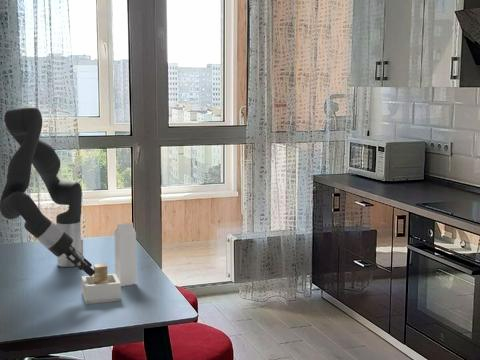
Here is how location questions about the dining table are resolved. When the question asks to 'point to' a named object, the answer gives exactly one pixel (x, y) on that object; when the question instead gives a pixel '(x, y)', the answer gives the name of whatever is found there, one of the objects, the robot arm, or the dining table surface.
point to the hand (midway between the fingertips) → (91, 270)
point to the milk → (125, 254)
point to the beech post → (100, 273)
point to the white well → (101, 290)
